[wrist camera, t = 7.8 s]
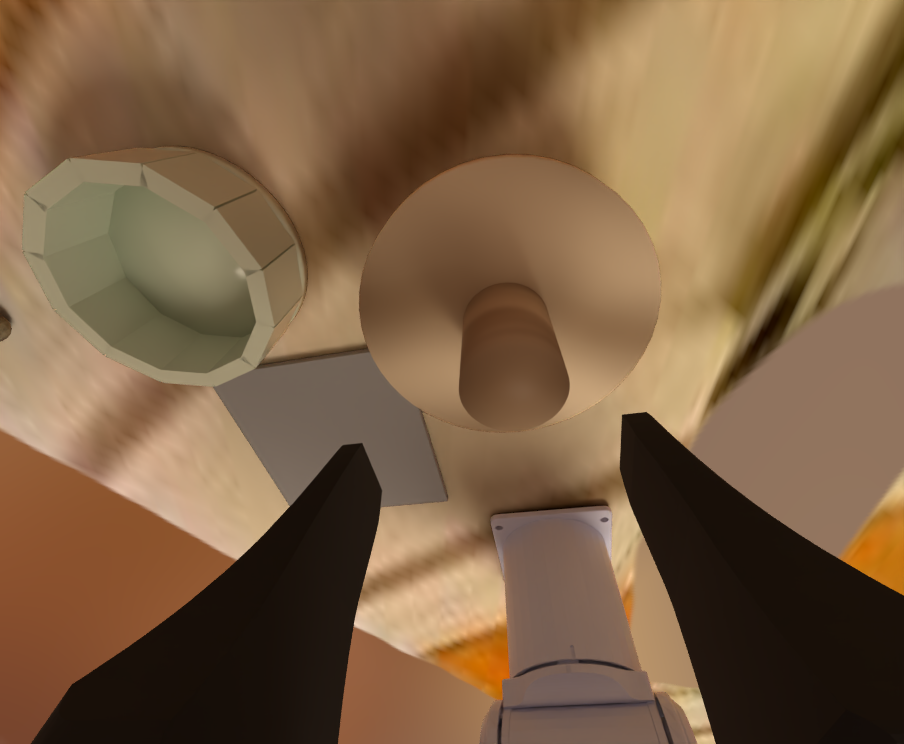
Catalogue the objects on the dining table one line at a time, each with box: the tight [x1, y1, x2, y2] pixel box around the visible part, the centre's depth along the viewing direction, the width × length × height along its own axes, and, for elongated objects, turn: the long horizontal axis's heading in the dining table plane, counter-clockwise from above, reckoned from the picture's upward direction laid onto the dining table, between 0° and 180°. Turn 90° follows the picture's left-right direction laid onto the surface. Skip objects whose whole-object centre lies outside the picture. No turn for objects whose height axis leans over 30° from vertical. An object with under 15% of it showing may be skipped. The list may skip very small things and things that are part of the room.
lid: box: [359, 154, 661, 432], centre depth 13 cm, size 10×10×5 cm
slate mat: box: [213, 349, 448, 507], centre depth 25 cm, size 12×11×1 cm
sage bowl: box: [22, 146, 308, 387], centre depth 17 cm, size 9×9×4 cm
